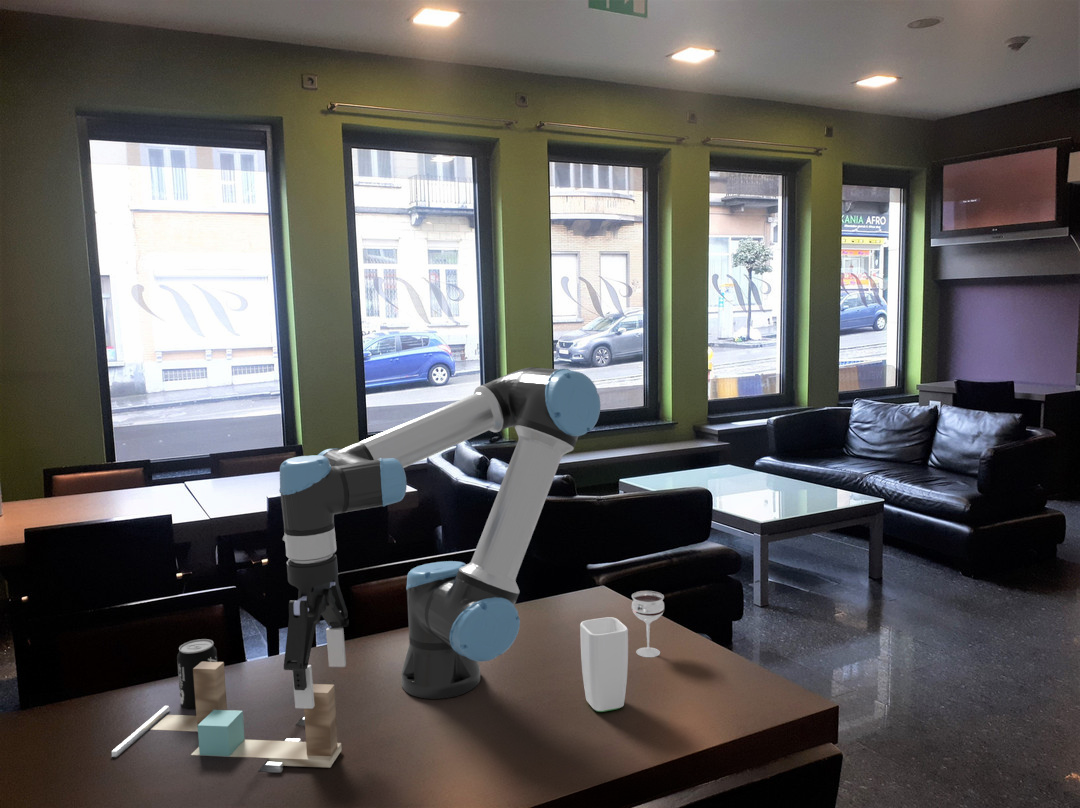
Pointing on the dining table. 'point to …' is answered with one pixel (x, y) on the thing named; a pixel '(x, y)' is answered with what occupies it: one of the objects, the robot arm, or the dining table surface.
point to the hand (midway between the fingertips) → (322, 685)
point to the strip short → (200, 698)
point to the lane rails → (147, 725)
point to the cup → (604, 662)
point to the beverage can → (187, 661)
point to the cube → (221, 732)
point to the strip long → (319, 737)
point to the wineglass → (648, 615)
